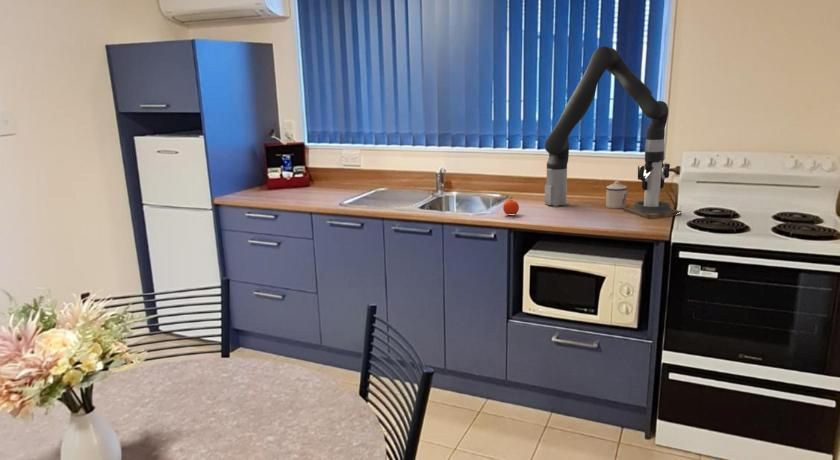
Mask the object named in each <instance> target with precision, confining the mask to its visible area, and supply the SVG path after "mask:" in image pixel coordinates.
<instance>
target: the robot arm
mask: <svg viewBox="0 0 840 460" xmlns="http://www.w3.org/2000/svg"><path fill="white" fill-rule="evenodd" d="M591 55H592V56H591V58H590V60H589V63H588V65H587V68H586V70H585V72H584V74H583V76H582V77H581V79H580V81H579V82H578V83H577V86H576V88H575V89H574V90H573V92H572V94H571V96H570V97H569V100H568V102H567V103H566V106H565V107H564V109H563V111H562V113H561V115H560V118H559V120H558V121H557V123H556V125H555V126H554V128H553V129H552V131H551V132H550V133H549V135H548V136H547V138H546V139H545V142H544V148H545V151H546V152H547V153H548V160H547V161H546V183H545V184H544V204H545V203H546V204H548V205H554V206H553V207H560V206H559V205H564V206H566V205H567V203H568V202H567V201H568V200H567V191H568V189H567V188H568V187H567V186H568V163H569V157H570V156H569V153H570V152H569V151H570V142H569V136H570V135H571V133H572V131H573V129H574V128H575V127H576V126H577V124H579V123H580V121H581V120H582V119H583V118H584V116H585V114H586V113H588V110H589V109H590V107H591V105H592V103H593V100H594V99H595V95H596V90H597V88H598V87H597V86H598V84H599V81H600V79H601V77H602V76H603V75H604V73H605V72H606V71H607V72H609V73H610V74H611V75H613V77H615V78H616V79H617V80H618V81H619V83H620V84H621V86H622V88H623V89H624V91H625V92H626V93H627V94H628V95H629V96H630V97H631V99H632V100H634V101H635V103H636V104H637V105H638V107H639V108H640V110H641V111H642V113H643V115H645V116H646V118H647V117H648V118H649V119H650V121H649V125H648V126H647V127H646V134H645V135H646V138H645V139H646V140H645V144H644V162H645V163H644V165H638V166H637V181H638V180H639V181H641V188H642V190H643V191H645V190H647V186H648V182H647V180H648V178H649V177H650V176H651V175H652V173H653V170H654V167H652V163H653V162H660V161H661V162H662V169H661V184H660V190H661V189H664V187H665V180H666V179H668V178H670V167H671V165H670V163H668V162H667V163H666V162H664V160H665V146H666V144H665V136H666V135H665V131H666V129H665V128H666V125H667V122H668V115H669V107H668V103H666V102H665V101H664V100H657V99H656V98H654V96H653V93H652V90H650V88H649V87H648V86H647V85H646V83H645V84H644V82H643V81H642V80H640V78H639V77H638V76H636V74H635V73H633V72H632V70H631V69H630V68H629V67H628V65H627V64H626V63H625V61H624V60H623V58H622V57H621V56H620V54H619V53H618V51H617V50H616V49H615V48H612V47H609V46H606V45H605V46H600V47H598V48H597V49H596V50H595V51H594V52H593V54H591ZM647 173H648V174H647ZM546 204H545V205H546ZM548 205H547V206H548ZM557 205H558V206H557Z"/></svg>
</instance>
